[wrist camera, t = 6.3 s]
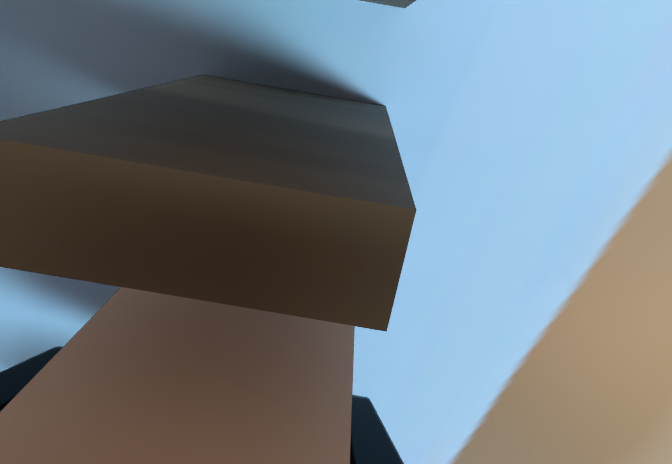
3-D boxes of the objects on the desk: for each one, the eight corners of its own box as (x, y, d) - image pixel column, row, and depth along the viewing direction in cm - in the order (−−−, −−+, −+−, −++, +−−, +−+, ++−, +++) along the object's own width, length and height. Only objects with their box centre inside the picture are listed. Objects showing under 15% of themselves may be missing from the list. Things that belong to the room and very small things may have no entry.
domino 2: (346, 310, 13) (324, 662, 6) (174, 281, 13) (-71, 598, 6) (356, 261, 12) (345, 585, 5) (175, 231, 12) (-99, 514, 5)
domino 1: (374, 163, 13) (386, 331, 6) (200, 133, 13) (-21, 262, 6) (385, 106, 12) (415, 209, 5) (202, 74, 12) (-45, 131, 5)
